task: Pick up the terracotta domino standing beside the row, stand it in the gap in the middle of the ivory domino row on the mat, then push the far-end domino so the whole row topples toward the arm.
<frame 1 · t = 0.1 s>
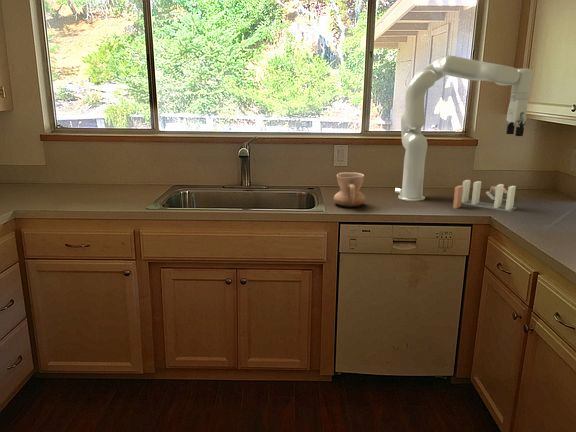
hand: (514, 135, 214), 31 cm above the countertop, tool pointing down, fingers open, 9 cm apart
domino d: (497, 206, 207), point 1 cm above the countertop, touching mat
packaged product: (499, 199, 228), on the countertop
ceramic jug: (349, 205, 211), on the countertop
domino a: (464, 201, 217), point 1 cm above the countertop, touching mat
domino e: (509, 208, 204), point 1 cm above the countertop, touching mat
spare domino: (456, 208, 207), on the countertop
domino b: (475, 203, 214), point 1 cm above the countertop, touching mat
mat: (483, 205, 211), on the countertop
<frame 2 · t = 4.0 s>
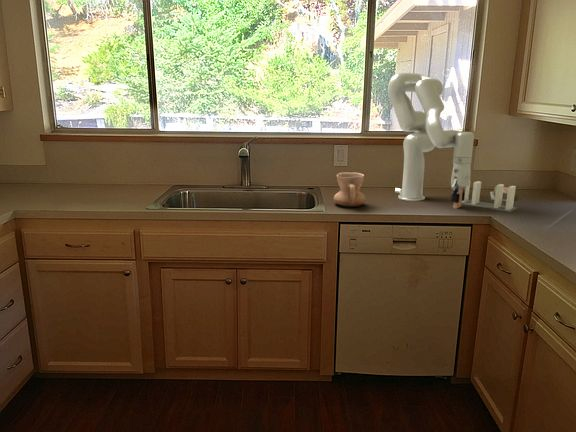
hand: (457, 200, 206), 3 cm above the countertop, tool pointing down, fingers closed on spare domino, 4 cm apart
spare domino: (457, 208, 207), on the countertop, touching gripper
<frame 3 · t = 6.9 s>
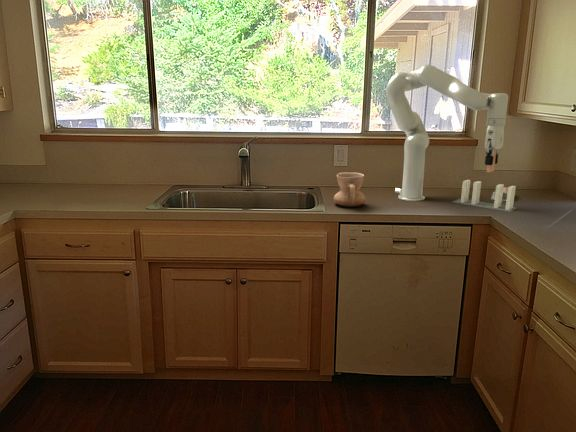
hand: (491, 163, 205), 20 cm above the countertop, tool pointing down, fingers closed on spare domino, 4 cm apart
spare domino: (490, 171, 206), point 16 cm above the countertop, touching gripper
when the fingers open (5 cm above the countertop, at t = 10.0 s): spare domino stays where it is, resting on mat.
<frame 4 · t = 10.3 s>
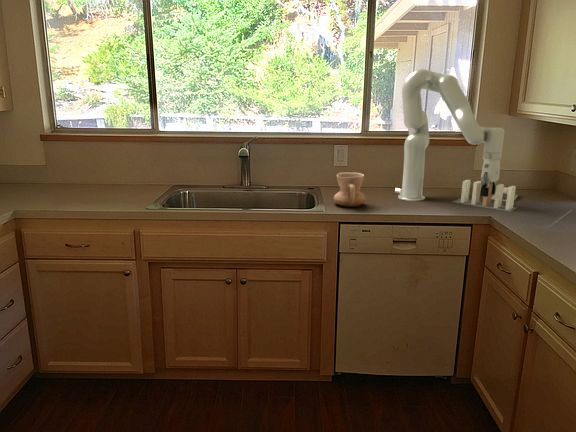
hand: (487, 194, 209), 5 cm above the countertop, tool pointing down, fingers open, 7 cm apart
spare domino: (486, 205, 211), point 1 cm above the countertop, touching mat
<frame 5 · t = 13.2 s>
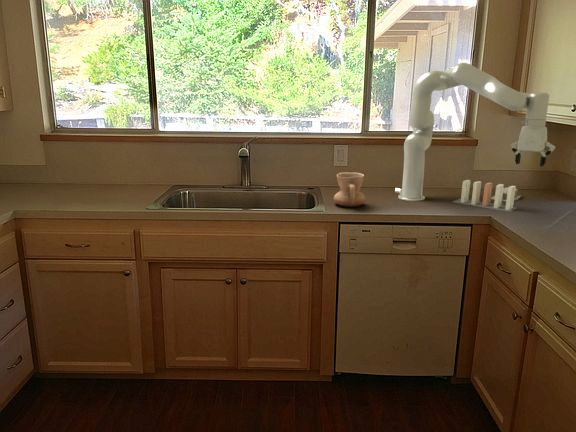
hand: (529, 164, 195), 21 cm above the countertop, tool pointing down, fingers open, 9 cm apart
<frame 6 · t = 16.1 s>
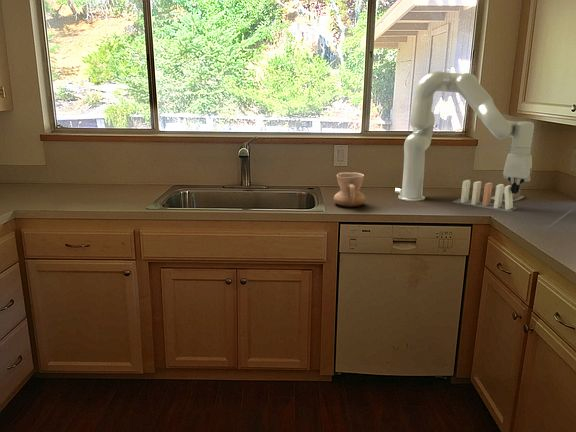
hand: (514, 193, 201), 8 cm above the countertop, tool pointing down, fingers closed
domino e: (509, 208, 204), point 1 cm above the countertop, tilted 9°, touching gripper, mat
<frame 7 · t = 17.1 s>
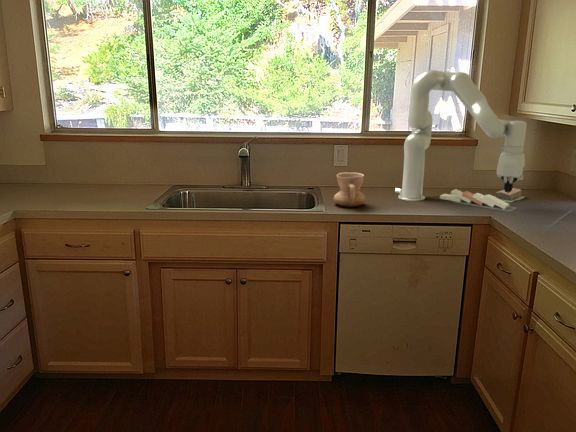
hand: (507, 191, 203), 8 cm above the countertop, tool pointing down, fingers closed
domino d: (495, 204, 208), point 1 cm above the countertop, tilted 72°, touching domino e, mat, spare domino
domino a: (462, 199, 218), point 1 cm above the countertop, tilted 90°, touching domino b, mat
domino e: (506, 206, 204), point 1 cm above the countertop, tilted 71°, touching domino d
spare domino: (484, 203, 211), point 1 cm above the countertop, tilted 72°, touching domino b, domino d, mat
domino b: (472, 200, 214), point 1 cm above the countertop, tilted 72°, touching domino a, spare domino
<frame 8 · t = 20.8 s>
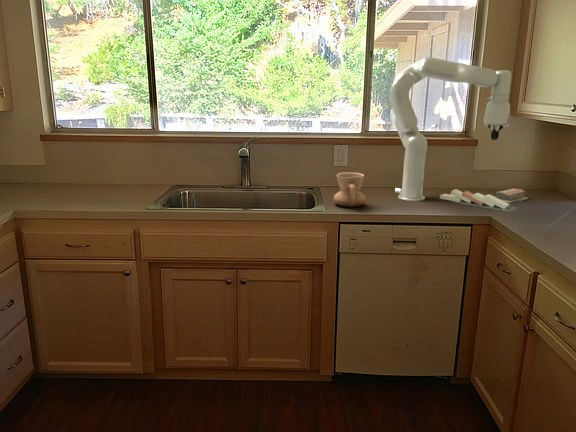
hand: (494, 139, 214), 29 cm above the countertop, tool pointing down, fingers closed
at the end: domino a tilted 90°; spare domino tilted 72°; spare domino inside the target area (0.5 cm from its centre), point 1.4 cm above the countertop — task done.
